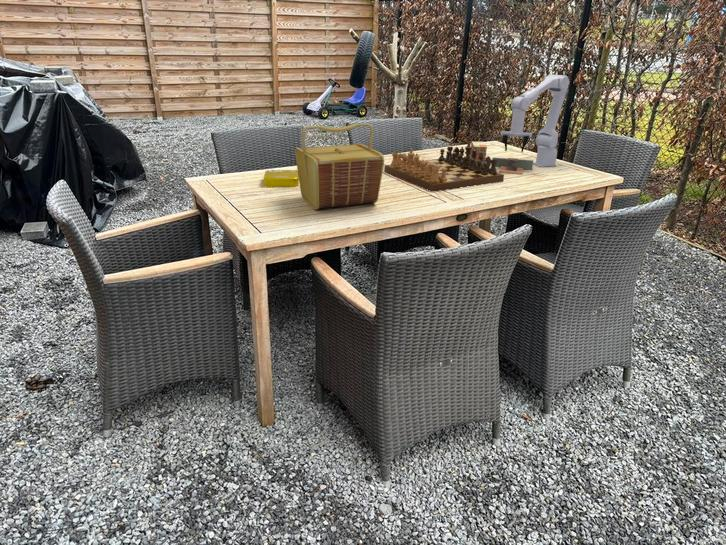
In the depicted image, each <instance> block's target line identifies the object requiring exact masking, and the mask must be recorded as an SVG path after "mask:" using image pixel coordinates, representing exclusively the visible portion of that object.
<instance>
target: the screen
mask: <svg viewBox="0 0 726 545" xmlns="http://www.w3.org/2000/svg"><path fill="white" fill-rule="evenodd" d="M508 158H509V157H507V158H506V157H495V156H494V157H492V158H491V160H497V164H496V168H500V167H501V166H504V167H507V159H508ZM517 159H518V164H517V168H523V170H529V171H533V168H534V167H533V166H534V164H533V163H534V160H533V159H519V158H517Z"/></svg>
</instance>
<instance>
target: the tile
mask: <svg viewBox="0 0 726 545" xmlns="http://www.w3.org/2000/svg"><path fill="white" fill-rule="evenodd" d="M498 173H501V174H509V175H510V174H511V175H521V176H522V175H524V169H523V168H517V171H511V170H506V167H504V166H501V167H499V172H498Z"/></svg>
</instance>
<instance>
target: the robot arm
mask: <svg viewBox="0 0 726 545" xmlns="http://www.w3.org/2000/svg"><path fill="white" fill-rule="evenodd" d="M569 84H570V79H569V76H567V75H566V74H565V75H560V74H551V73H549V74H548V75H547V76H545V77H544V79H543V80H542V82H540V83H539V84H538V85H537V86H536V87H529V88H528V89H527V91H525V92H524V93H521V95H520V96H516V97H514V98H513V99H512V101H511V103H510V106H511V111H512V115H511V116H512V118H511V126H510V130H509V131H507V130H505V131H503V130H502V131H500V136H501V137H502V139H503V144H504V151H505V152H507V151H508V140H509V137H516V138H517V137H518V138H520V137H521V138H523V140H522V146H521V153H523V152H524V149H525V148H526V144H527V143H528V141H529V139H531V138H532V137H533V136H532V135H533V133H532V132H525V131H524V123H525V118H526V111H527V110H528V108H530V105H531V104H532V103H533V102H535V101H536V100H538V98H539V95H540V94H542V93H543V92H545V91H547V90H549V91H550V93H552V95H553V97H552V101H551V104H550V107H549V109H548V114H547V118H546V120H545V124H544V127H543V128H541V129H539V131H538V133H537V135H536V138H535V145H536V147H537V153H536V157H535V162H534V161H533V165H535V166H536V167H537V166H538V167H543V168H544V167H556V166H557V165H556V162H557V157H558V150H557V149H556V146H557V145H558V142H559V141H558V139H559V138H558V137H559V133H558V132H557V130H556V127H557V124H558V120H559V118H560V115H561V114H560V113H561V111H562V108H563V105H564V102H565V98H566V95H567V91H568V88H569V86H570V85H569Z"/></svg>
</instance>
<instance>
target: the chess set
mask: <svg viewBox="0 0 726 545" xmlns="http://www.w3.org/2000/svg"><path fill="white" fill-rule="evenodd" d="M470 144H471V141H468V142H467V144H466V146H465V147H463V146H461V148H460V149H459V147H457V146H455V148H454V146H447V147H446V148H447V150H446V156H444V155H445V149H444V148H441V149H440V151H439V152H440V153H439V157H438V158H435V159H426V160H425V159H421V156H420V155H419V154H418V153H415V152H414V150H413V148H412V147H410V148H409V152H408V153H406V152H405V153H401V152H399V153H398V152H392V154H391V157H392V161H391V163H390V164H385V165H384V169H383V172H384V173H387V174H389V175H391V176H395V177H396V178H399V179H401V180H403V181H406V182H408V183H410V184H412V183H413V185H415V186H417V185H418V186H417V187H419V186H420V188H422V187H423V188H422V189H424V188H425V189H424V190H426V189H428V190H427V191H429V190H430V191H429V192H431V191H437V192H440V191H439V190H443V191H447V190H446V189H450V190H454V189H453V188H457V189H461V188H460V187H463V188H468V187H467V186H470V187H475V186H474V185H476V186H482V184H483V185H487V184H488V185H489V183H490V184H495V183H503V182H504V179H505V173H499V172H498V171H497V167H496V164H497V160H492V158H491V156H489V155H486V159H485V160H483V158H484V155H483V153H481V154H480V155H479V160H478V161H477V164H476V161H475V157H476V156H477V154H476V152H477V151H478V150H476V149H475V148H476V147H474V149H473V150H472V155H471V156H472V158H471V159H470V157H469V155H470V154H471V152H470V150H471V149H472V147H470ZM464 155H465V156H464ZM482 161H484V163H483V164H482Z"/></svg>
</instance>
